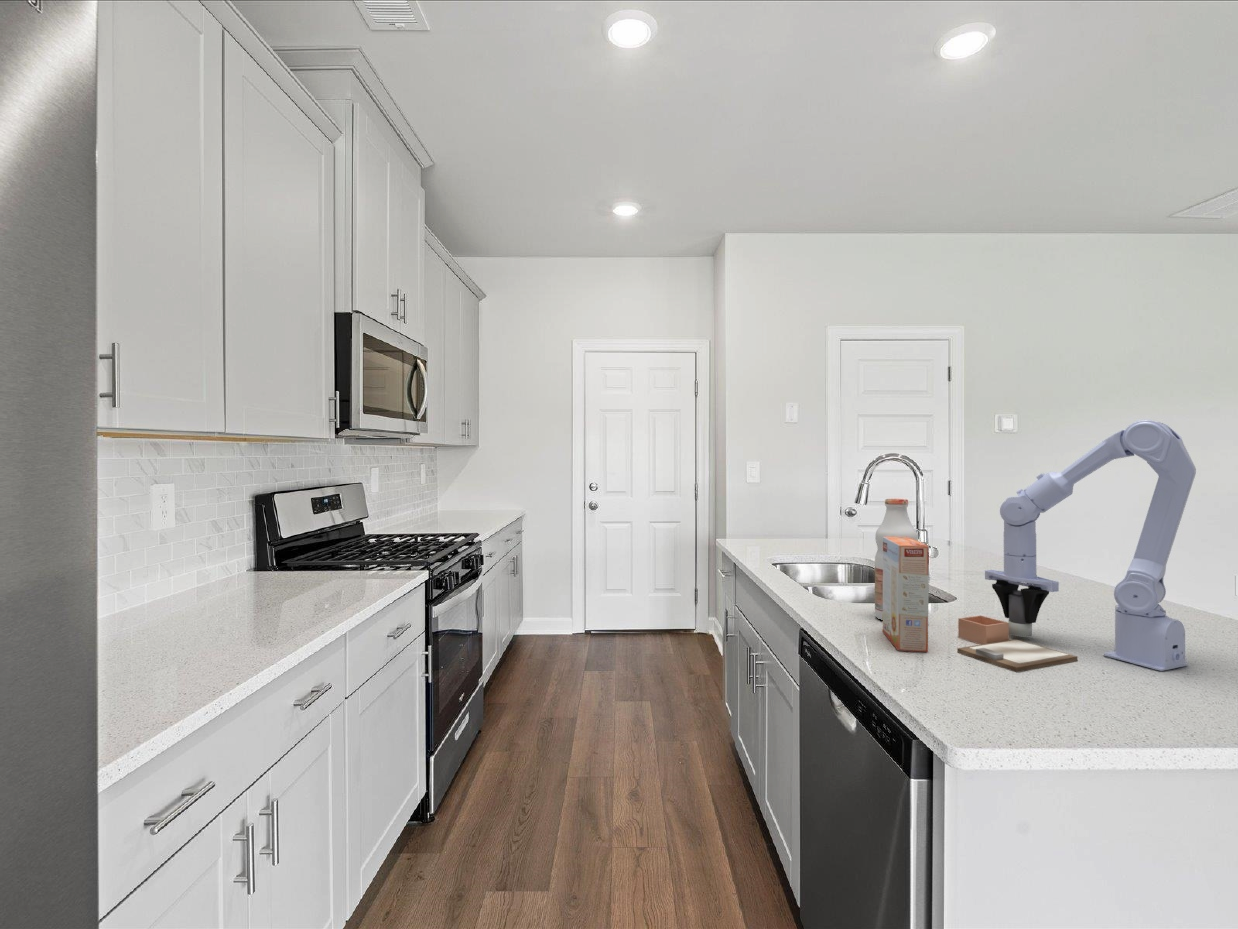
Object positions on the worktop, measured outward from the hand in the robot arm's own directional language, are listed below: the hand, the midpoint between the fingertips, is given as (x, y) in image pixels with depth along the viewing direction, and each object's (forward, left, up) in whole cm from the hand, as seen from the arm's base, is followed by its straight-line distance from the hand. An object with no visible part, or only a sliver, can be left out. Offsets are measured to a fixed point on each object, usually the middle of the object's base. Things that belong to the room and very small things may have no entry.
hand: (1020, 620), depth 129 cm
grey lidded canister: (0, 0, -3) cm, 3 cm away
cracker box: (+7, +24, -4) cm, 25 cm away
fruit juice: (+21, +12, -4) cm, 25 cm away
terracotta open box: (+2, +8, -4) cm, 9 cm away
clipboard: (-8, +12, -4) cm, 15 cm away
